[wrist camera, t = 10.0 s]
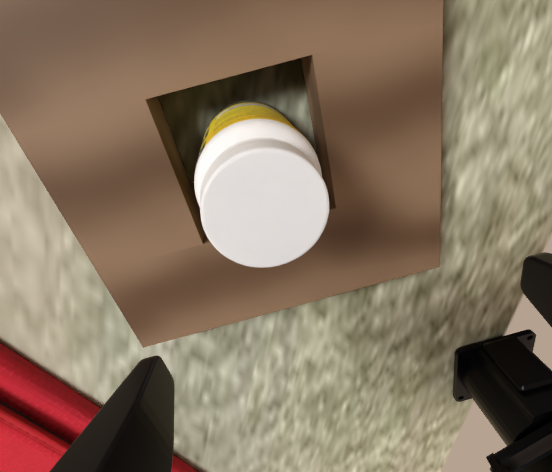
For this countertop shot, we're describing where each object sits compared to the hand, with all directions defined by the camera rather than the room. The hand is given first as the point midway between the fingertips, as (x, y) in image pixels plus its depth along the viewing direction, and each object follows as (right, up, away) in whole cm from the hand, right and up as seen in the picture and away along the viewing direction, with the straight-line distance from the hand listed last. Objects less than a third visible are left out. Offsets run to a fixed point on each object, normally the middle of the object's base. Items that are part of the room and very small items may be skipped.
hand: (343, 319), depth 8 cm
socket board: (-3, +7, +9) cm, 12 cm away
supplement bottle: (-3, +7, +10) cm, 12 cm away
